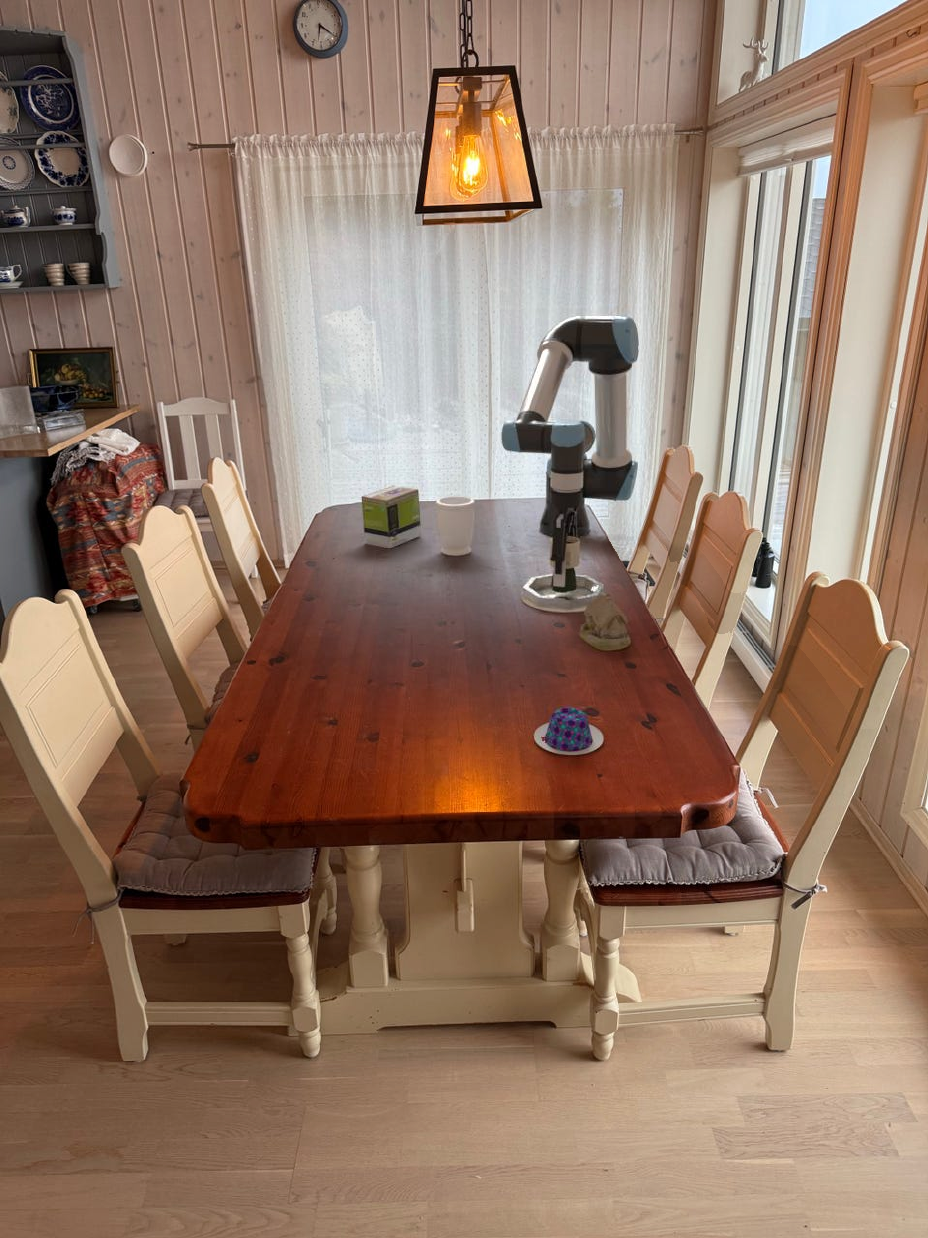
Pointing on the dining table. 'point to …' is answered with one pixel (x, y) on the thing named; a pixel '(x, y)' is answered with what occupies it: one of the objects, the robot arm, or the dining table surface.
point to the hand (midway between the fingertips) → (563, 579)
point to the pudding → (569, 733)
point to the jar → (455, 524)
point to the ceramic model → (604, 625)
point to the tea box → (391, 516)
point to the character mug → (568, 564)
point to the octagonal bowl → (561, 594)
